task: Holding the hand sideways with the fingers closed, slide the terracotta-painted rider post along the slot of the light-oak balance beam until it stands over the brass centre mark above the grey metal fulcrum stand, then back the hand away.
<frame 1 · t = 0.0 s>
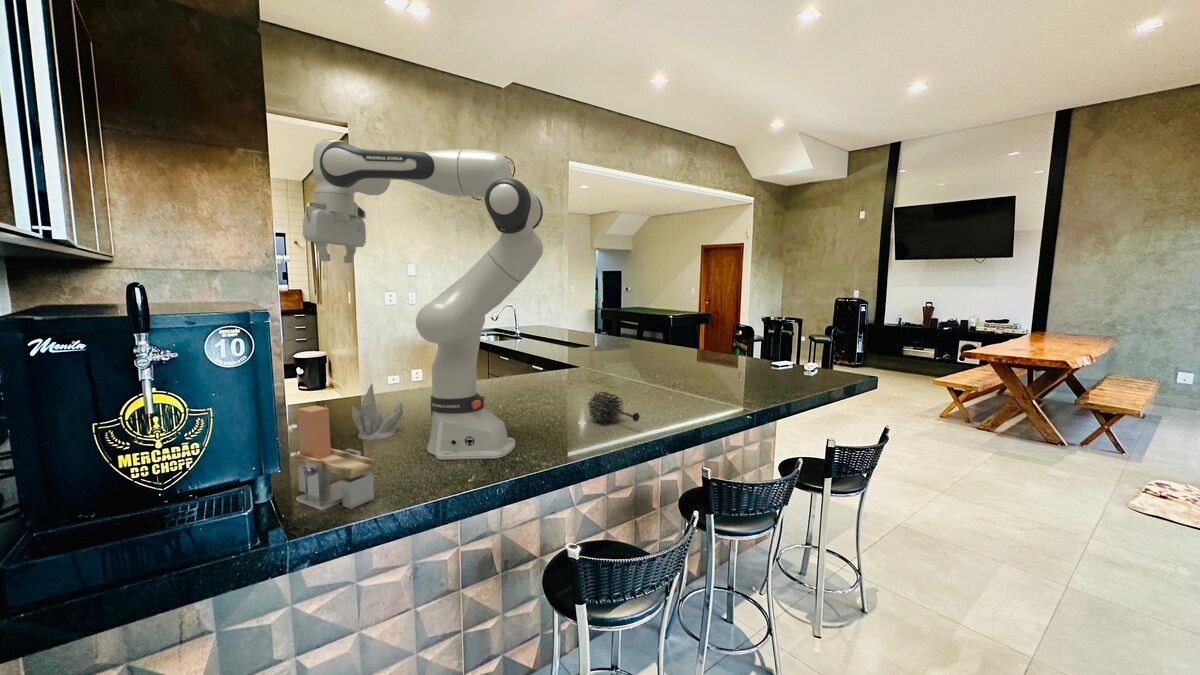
hand: (337, 262, 123), 48 cm above the countertop, tool pointing down, fingers open, 8 cm apart
crystal: (379, 435, 136), on the countertop
beam: (334, 461, 95), point 7 cm above the countertop, hinge at 0.0°, touching rider
massage brush: (611, 424, 148), on the countertop
fulcrum: (336, 494, 96), on the countertop
rider: (315, 456, 98), point 7 cm above the countertop, touching beam
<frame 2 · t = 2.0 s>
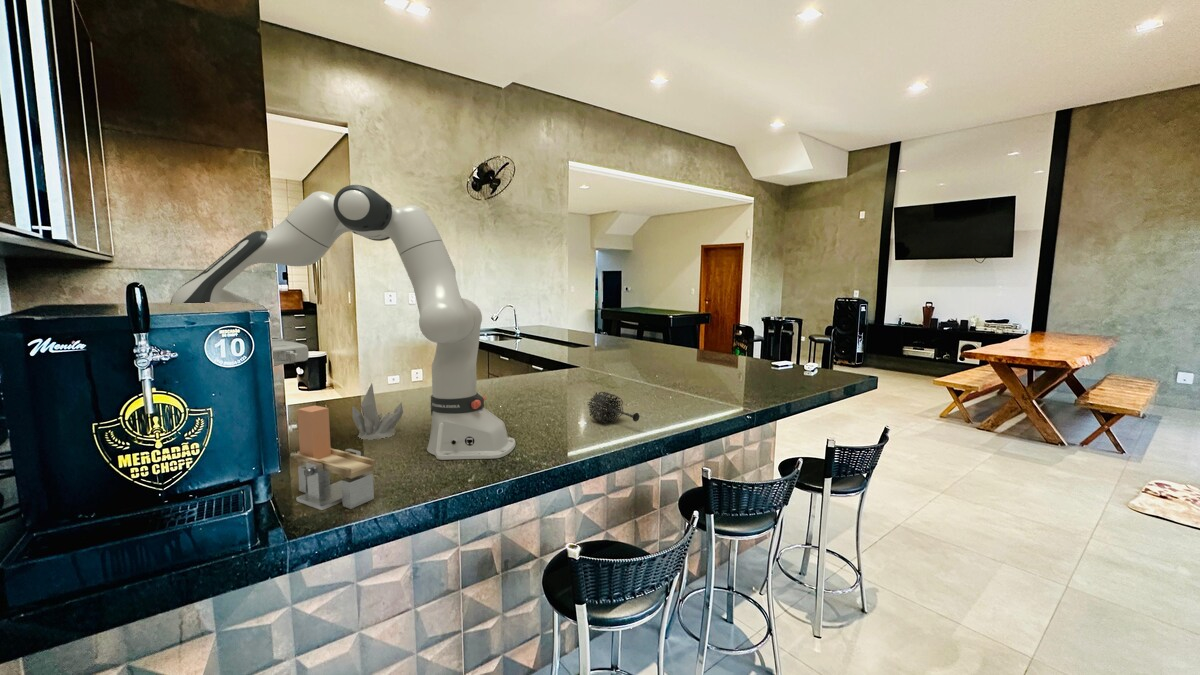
hand: (276, 360, 102), 26 cm above the countertop, tool horizontal, fingers open, 6 cm apart
nothing on the countertop moved.
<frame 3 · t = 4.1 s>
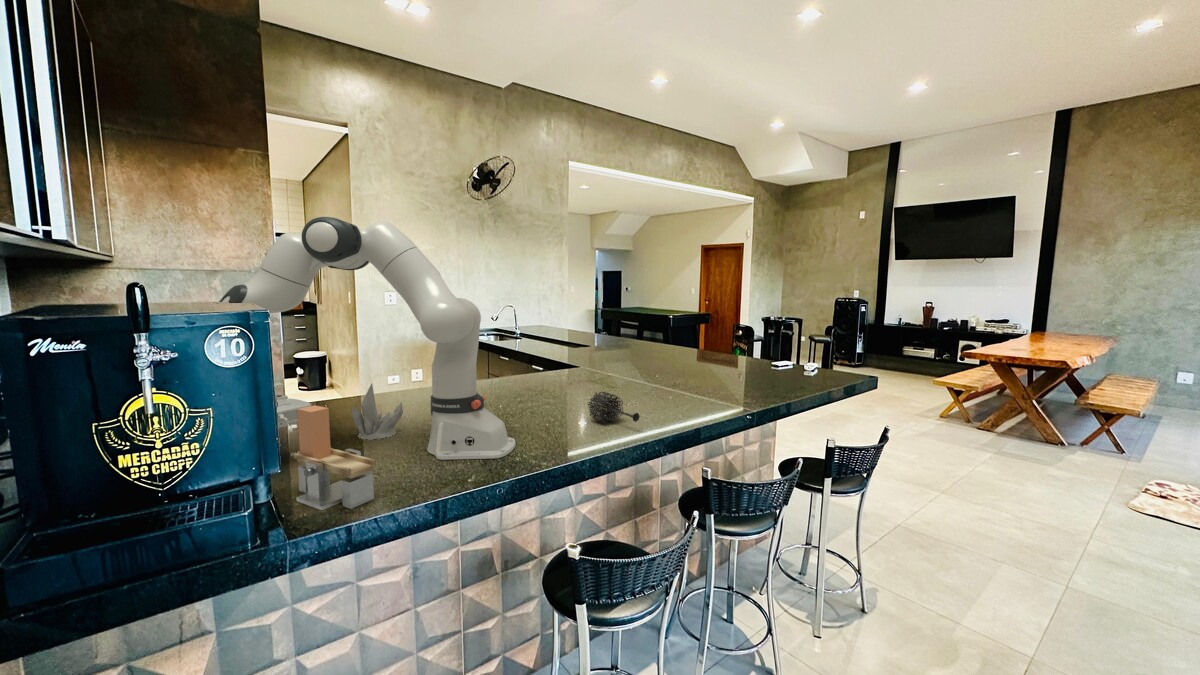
hand: (281, 423, 103), 12 cm above the countertop, tool horizontal, fingers closed
nothing on the countertop moved.
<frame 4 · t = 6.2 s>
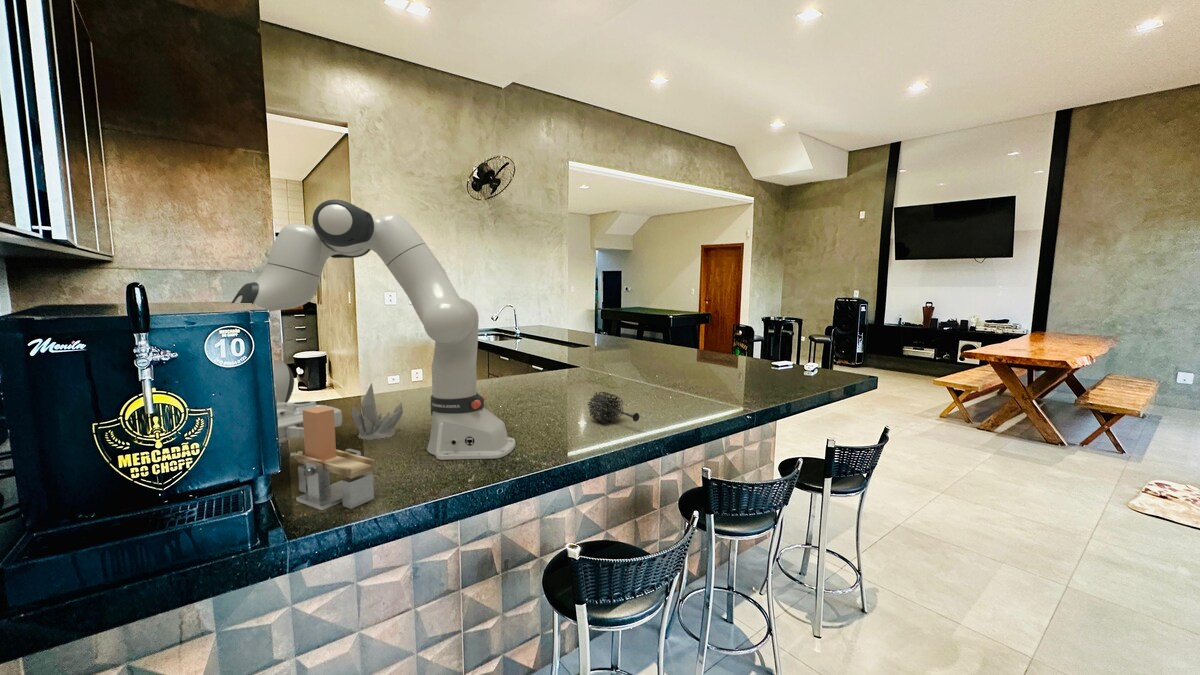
hand: (312, 432, 98), 12 cm above the countertop, tool horizontal, fingers closed
rider: (320, 457, 98), point 7 cm above the countertop, touching beam
everything else where it was.
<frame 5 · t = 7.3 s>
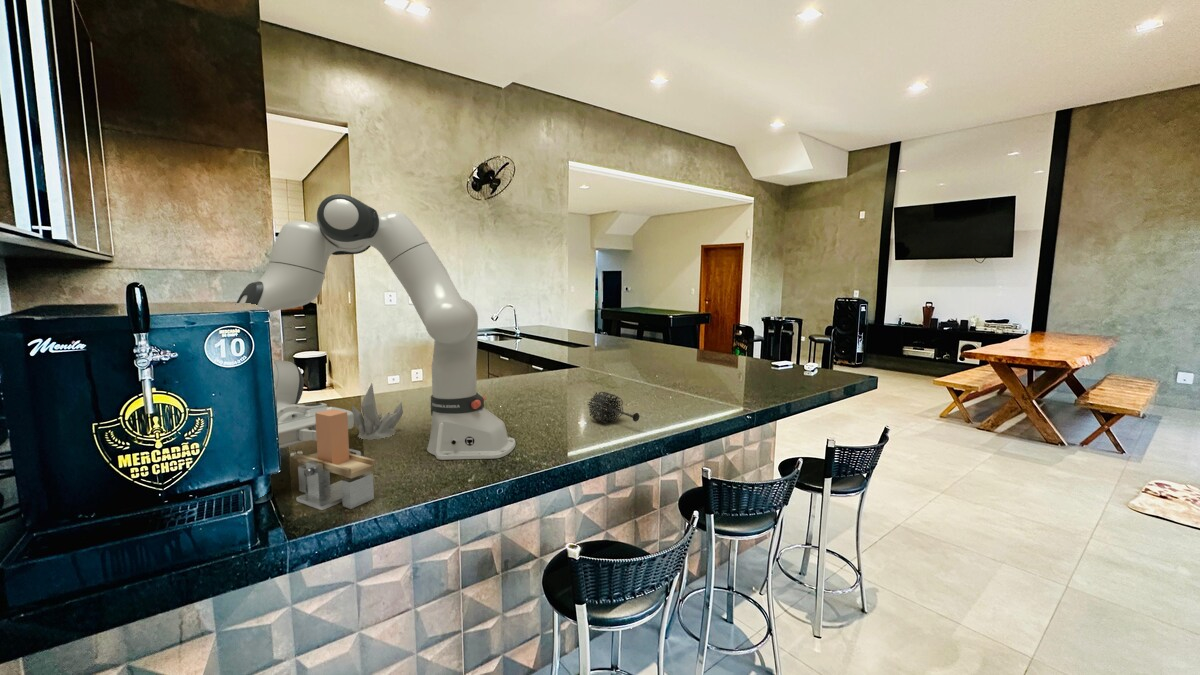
hand: (325, 435, 96), 12 cm above the countertop, tool horizontal, fingers closed, pressing on rider
rider: (333, 461, 96), point 7 cm above the countertop, touching beam, gripper
everything else where it was.
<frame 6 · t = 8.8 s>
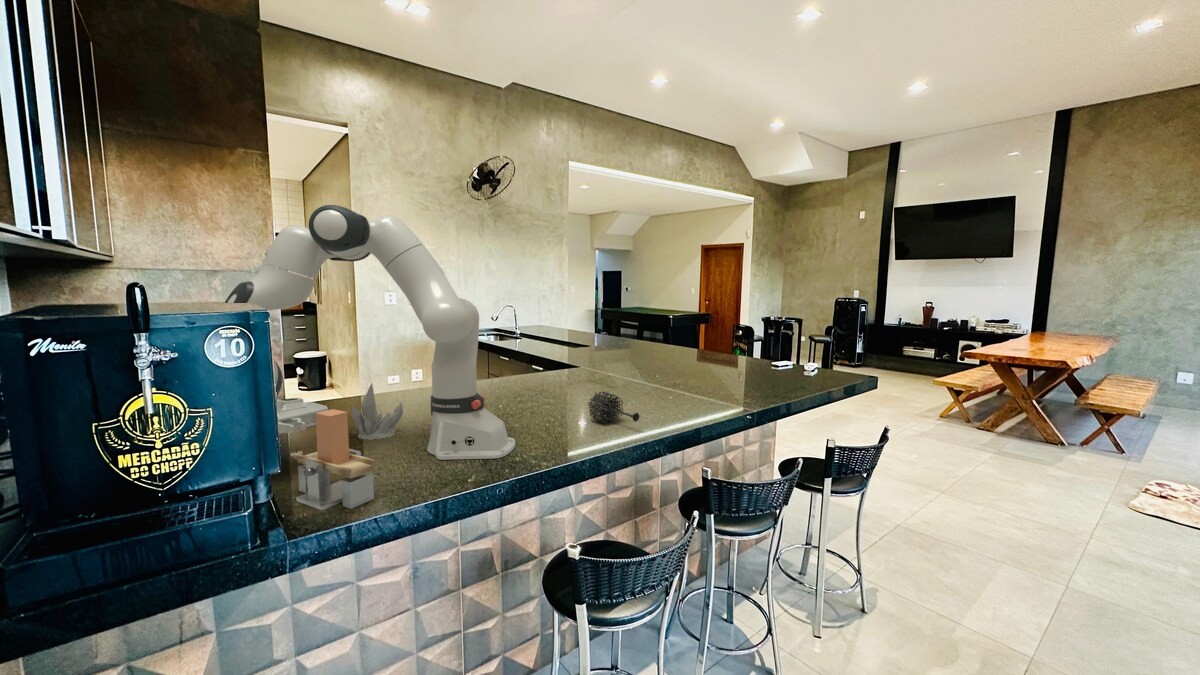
hand: (298, 428, 100), 12 cm above the countertop, tool horizontal, fingers closed
rider: (333, 461, 96), point 7 cm above the countertop, touching beam
everything else where it was.
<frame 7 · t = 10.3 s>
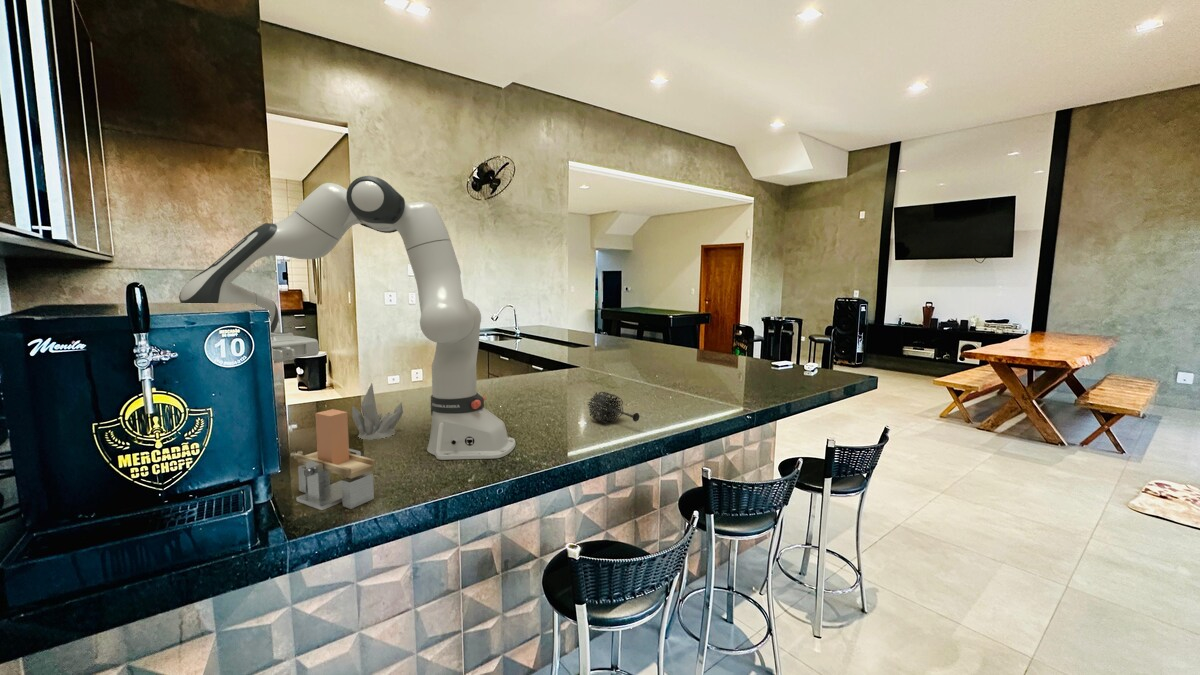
hand: (287, 354, 100), 28 cm above the countertop, tool horizontal, fingers closed
nothing on the countertop moved.
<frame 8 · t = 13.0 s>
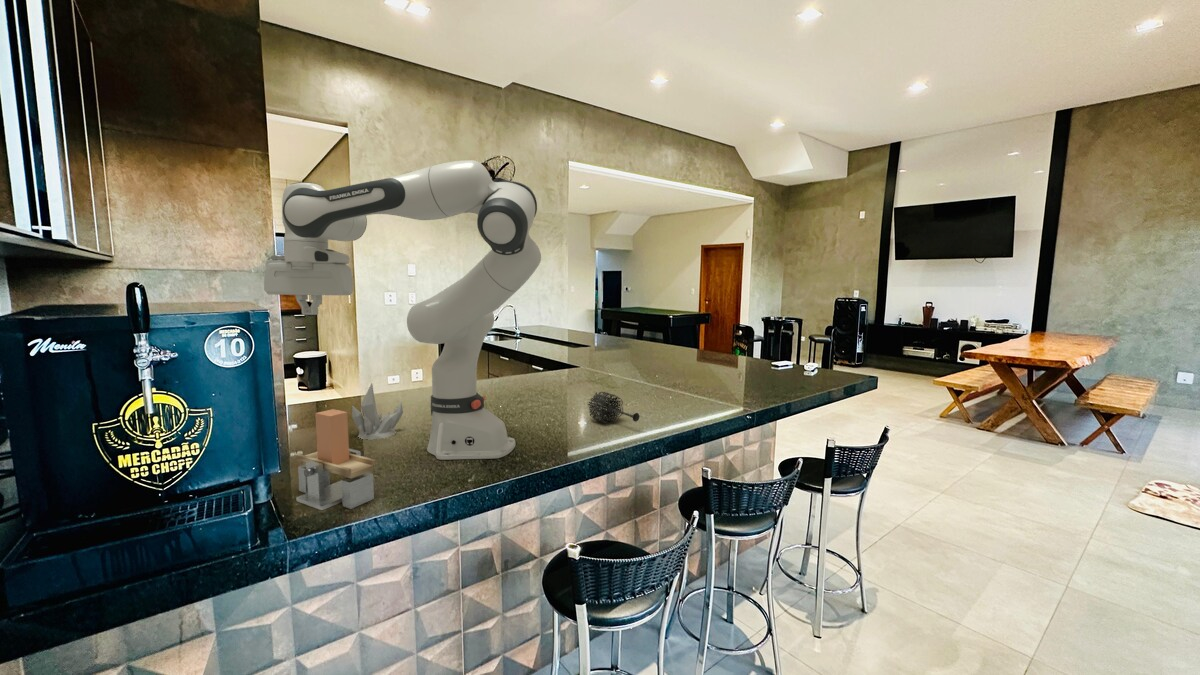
hand: (310, 314, 113), 35 cm above the countertop, tool pointing down, fingers closed
nothing on the countertop moved.
at the end: rider 0.2 cm off-centre on the beam, point 0.5 cm above the beam's base; rider tilted 0°; rider touching beam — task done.
